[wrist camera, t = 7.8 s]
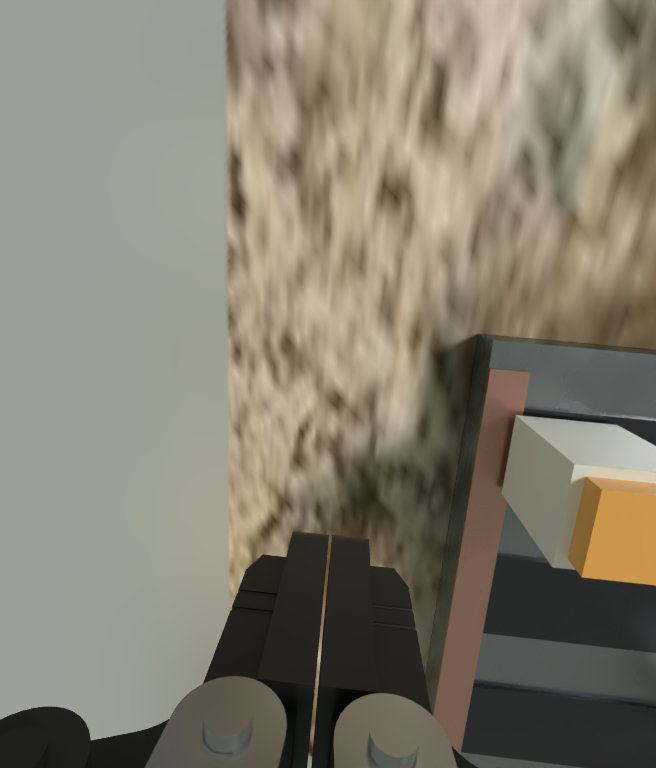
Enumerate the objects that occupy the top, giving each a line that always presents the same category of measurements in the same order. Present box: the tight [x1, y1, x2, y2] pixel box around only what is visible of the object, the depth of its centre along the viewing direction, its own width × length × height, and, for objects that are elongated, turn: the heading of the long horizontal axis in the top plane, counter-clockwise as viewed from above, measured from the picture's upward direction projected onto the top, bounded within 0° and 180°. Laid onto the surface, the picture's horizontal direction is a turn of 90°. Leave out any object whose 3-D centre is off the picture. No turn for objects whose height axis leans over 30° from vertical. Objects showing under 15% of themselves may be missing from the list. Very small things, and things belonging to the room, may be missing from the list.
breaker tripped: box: [502, 415, 656, 585], centre depth 14 cm, size 3×4×5 cm
